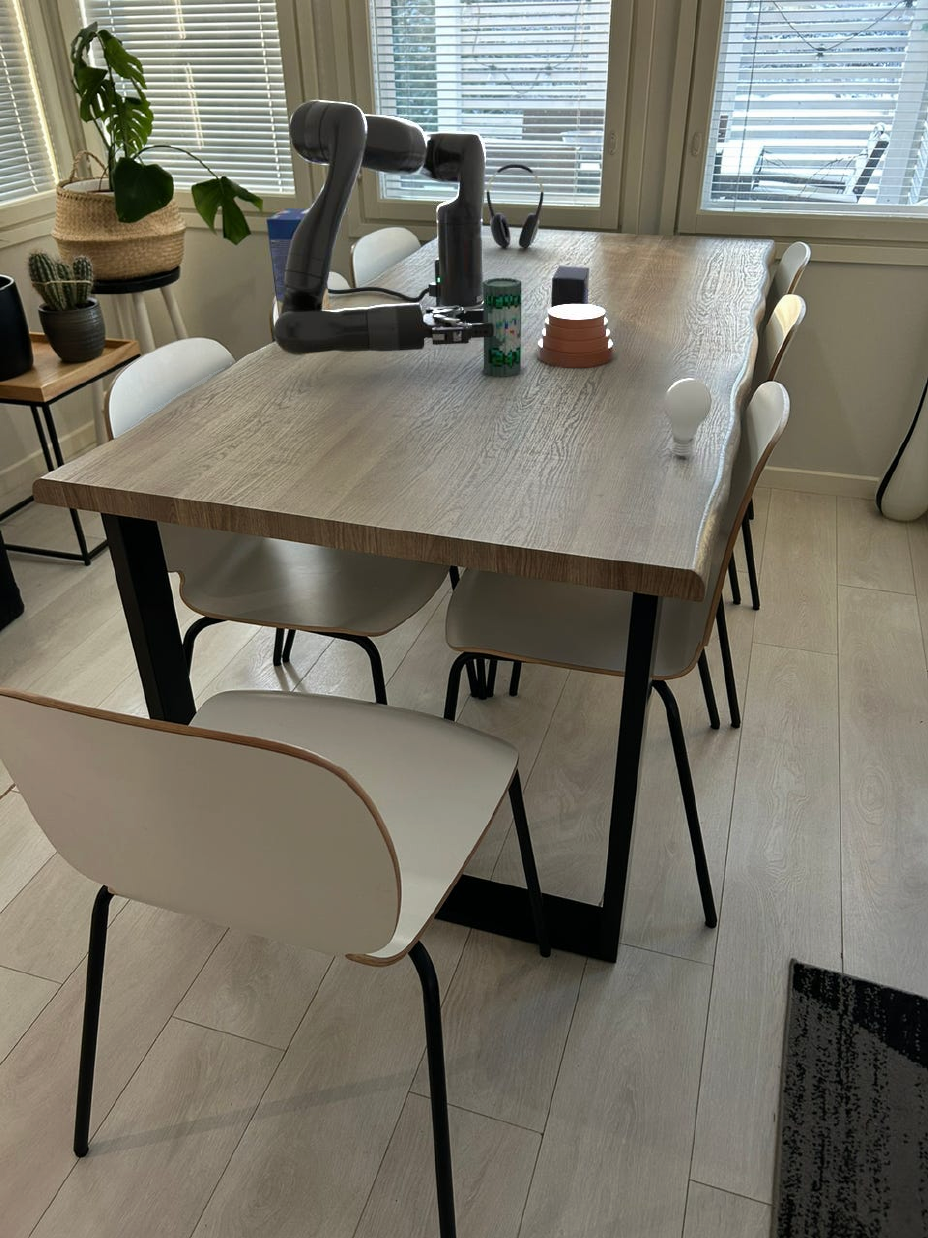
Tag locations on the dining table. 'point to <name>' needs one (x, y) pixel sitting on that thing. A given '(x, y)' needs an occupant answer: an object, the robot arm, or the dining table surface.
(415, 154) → the robot arm
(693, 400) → the lightbulb
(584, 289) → the small box
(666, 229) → the dining table surface
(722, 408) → the dining table surface
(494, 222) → the headphones
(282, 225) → the blue cracker box
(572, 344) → the orange stepped round pedestal
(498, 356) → the can
